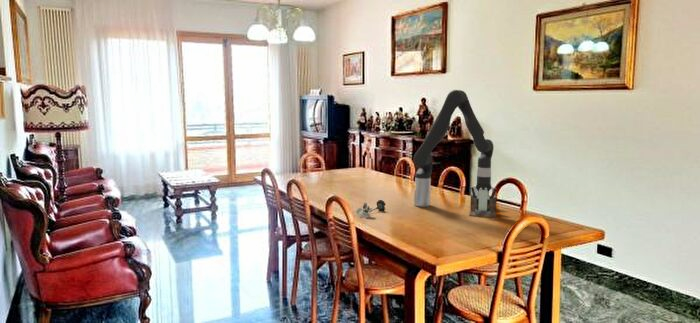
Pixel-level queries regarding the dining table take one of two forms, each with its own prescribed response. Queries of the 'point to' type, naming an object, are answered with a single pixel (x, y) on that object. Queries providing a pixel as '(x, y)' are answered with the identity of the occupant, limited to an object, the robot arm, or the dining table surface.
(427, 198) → the robot arm
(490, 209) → the cleat stand
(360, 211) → the artificial flower
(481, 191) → the block
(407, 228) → the dining table surface
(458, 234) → the dining table surface
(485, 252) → the dining table surface
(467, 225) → the dining table surface
